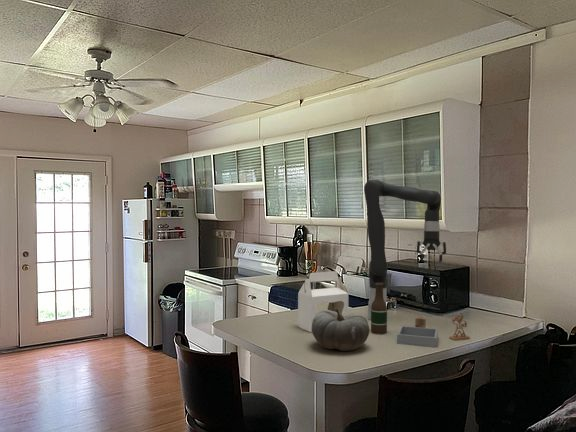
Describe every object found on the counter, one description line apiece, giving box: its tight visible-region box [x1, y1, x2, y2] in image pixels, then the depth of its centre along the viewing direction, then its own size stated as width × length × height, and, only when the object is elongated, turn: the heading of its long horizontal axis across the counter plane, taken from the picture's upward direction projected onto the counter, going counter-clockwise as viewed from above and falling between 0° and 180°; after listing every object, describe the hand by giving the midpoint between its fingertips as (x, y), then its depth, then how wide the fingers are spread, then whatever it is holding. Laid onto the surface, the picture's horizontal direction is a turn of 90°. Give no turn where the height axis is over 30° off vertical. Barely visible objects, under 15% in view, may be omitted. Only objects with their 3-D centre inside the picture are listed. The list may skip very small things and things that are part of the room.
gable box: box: [297, 270, 349, 334], centre depth 248 cm, size 22×13×28 cm, turn 118°
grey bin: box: [396, 325, 439, 348], centre depth 225 cm, size 17×17×4 cm
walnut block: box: [414, 316, 427, 328], centre depth 241 cm, size 4×4×7 cm
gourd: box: [311, 308, 371, 352], centre depth 215 cm, size 25×25×17 cm
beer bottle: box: [370, 283, 388, 335], centre depth 239 cm, size 8×8×24 cm
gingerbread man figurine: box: [448, 312, 471, 341], centre depth 229 cm, size 9×4×12 cm, turn 112°
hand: (431, 262), depth 250 cm, fingers open, 8 cm apart
